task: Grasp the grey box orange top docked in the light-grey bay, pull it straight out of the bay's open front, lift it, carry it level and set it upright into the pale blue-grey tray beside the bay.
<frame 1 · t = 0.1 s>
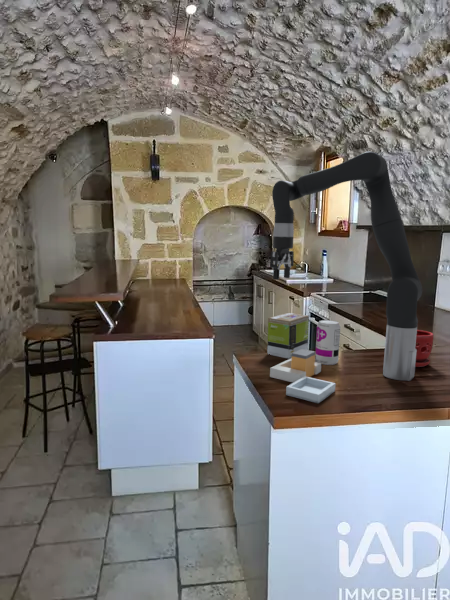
hand: (281, 278, 165), 29 cm above the countertop, fingers open, 8 cm apart
tea box: (287, 353, 170), on the countertop
grey box orange top: (303, 364, 141), in the bay
bay: (302, 375, 142), on the countertop
plant pot: (411, 364, 159), on the countertop
tray: (310, 393, 126), on the countertop
supplement can: (326, 362, 158), on the countertop
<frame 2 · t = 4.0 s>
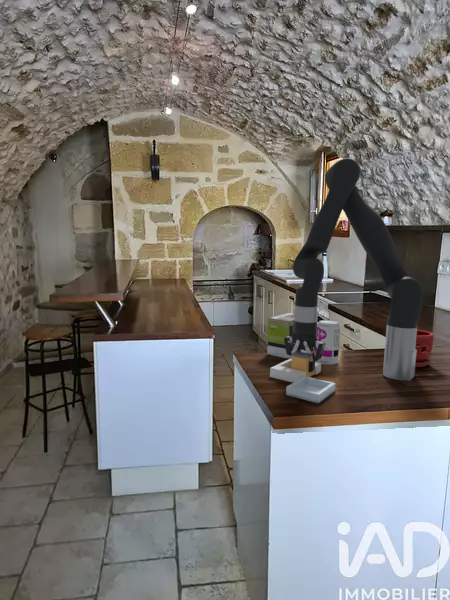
hand: (302, 369, 142), 2 cm above the countertop, fingers closed on grey box orange top, 5 cm apart
grey box orange top: (303, 364, 141), in the bay, touching gripper
everything else where it was.
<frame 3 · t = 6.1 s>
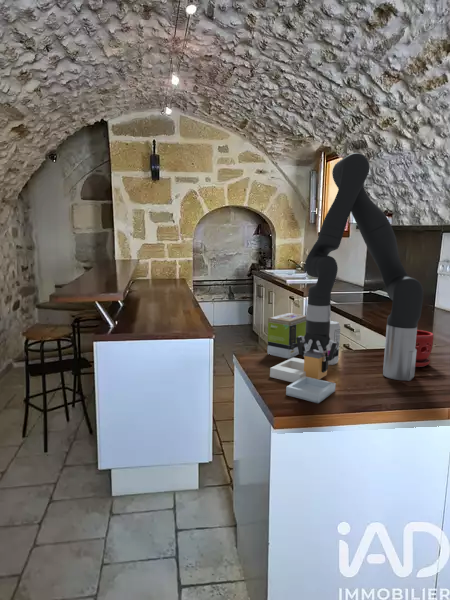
hand: (315, 369, 139), 3 cm above the countertop, fingers closed on grey box orange top, 5 cm apart
grey box orange top: (315, 363, 139), point 5 cm above the countertop, touching gripper
everything else where it was.
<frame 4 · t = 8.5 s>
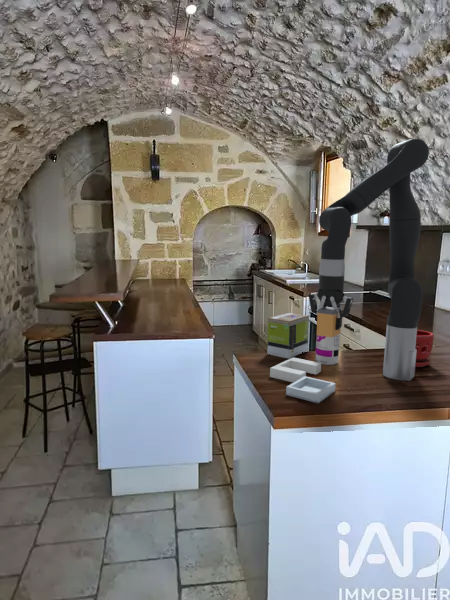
hand: (328, 328, 135), 17 cm above the countertop, fingers closed on grey box orange top, 5 cm apart
grey box orange top: (329, 321, 134), point 19 cm above the countertop, touching gripper
everything else where it was.
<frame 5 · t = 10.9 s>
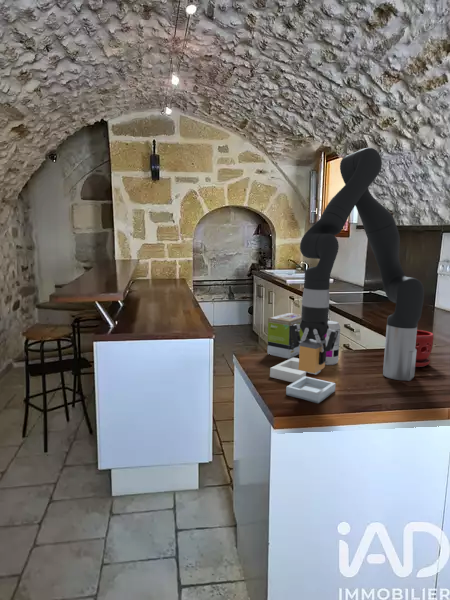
hand: (312, 361, 125), 9 cm above the countertop, fingers closed on grey box orange top, 5 cm apart
grey box orange top: (312, 355, 125), point 11 cm above the countertop, touching gripper
everything else where it was.
when the fingers open (4 cm above the countertop, at t = 12.8 s): grey box orange top drops 1 cm, resting on tray.
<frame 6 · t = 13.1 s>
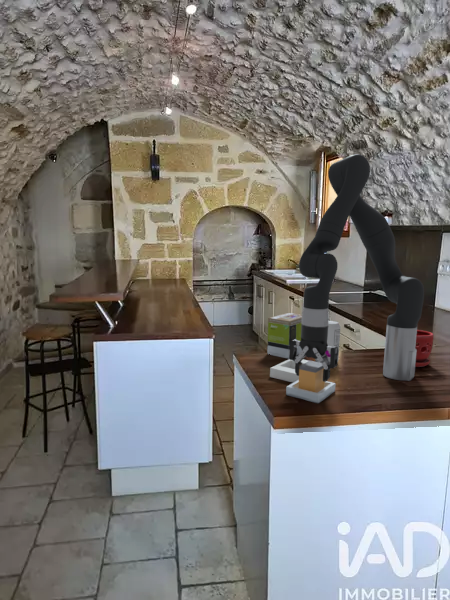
hand: (311, 377, 126), 5 cm above the countertop, fingers open, 8 cm apart
grey box orange top: (312, 378, 126), in the tray, point 5 cm above the countertop
everything else where it was.
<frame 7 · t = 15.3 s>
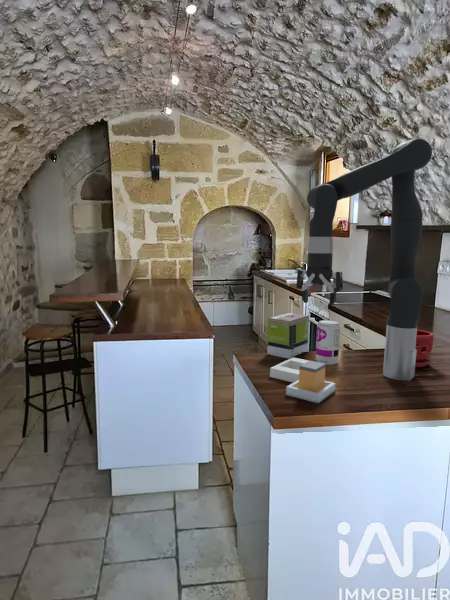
hand: (318, 303, 135), 25 cm above the countertop, fingers open, 8 cm apart
nothing on the countertop moved.
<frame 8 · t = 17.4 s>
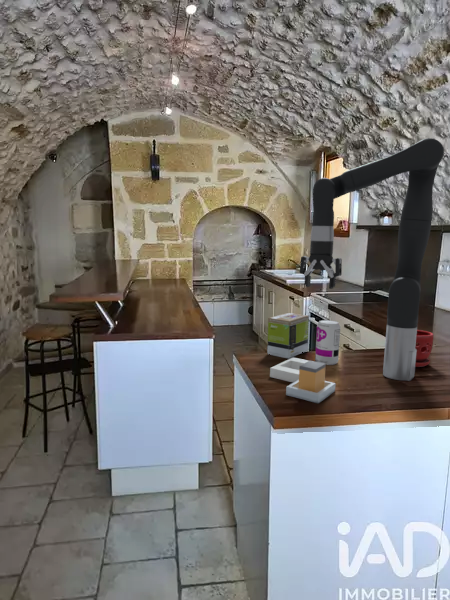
hand: (319, 287, 148), 28 cm above the countertop, fingers open, 8 cm apart
nothing on the countertop moved.
at the end: grey box orange top 0.1 cm off-centre on the tray, point 4.6 cm above the tray's base; grey box orange top tilted 0°; the gripper is holding nothing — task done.
